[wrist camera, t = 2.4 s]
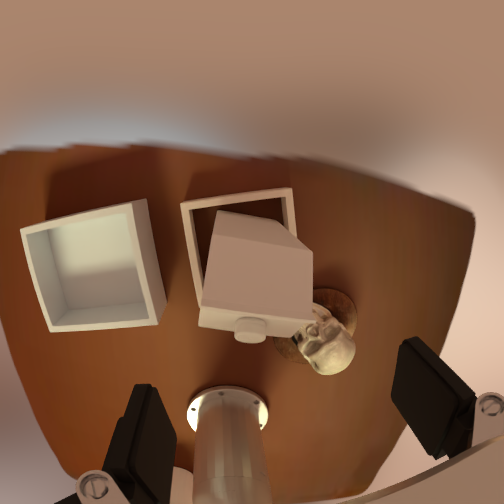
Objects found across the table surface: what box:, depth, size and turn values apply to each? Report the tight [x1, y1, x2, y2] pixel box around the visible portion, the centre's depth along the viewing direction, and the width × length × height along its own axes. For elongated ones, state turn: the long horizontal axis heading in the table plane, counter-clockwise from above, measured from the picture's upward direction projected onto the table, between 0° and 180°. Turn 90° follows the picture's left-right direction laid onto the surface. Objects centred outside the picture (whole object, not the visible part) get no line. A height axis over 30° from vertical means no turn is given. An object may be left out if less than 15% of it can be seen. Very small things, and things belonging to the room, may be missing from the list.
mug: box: [170, 467, 193, 504], centre depth 41 cm, size 8×12×10 cm
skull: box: [274, 288, 357, 375], centre depth 38 cm, size 12×10×10 cm
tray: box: [180, 187, 297, 307], centre depth 34 cm, size 12×12×3 cm
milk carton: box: [198, 210, 316, 343], centre depth 27 cm, size 7×7×19 cm
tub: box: [20, 198, 167, 332], centre depth 32 cm, size 13×15×6 cm
